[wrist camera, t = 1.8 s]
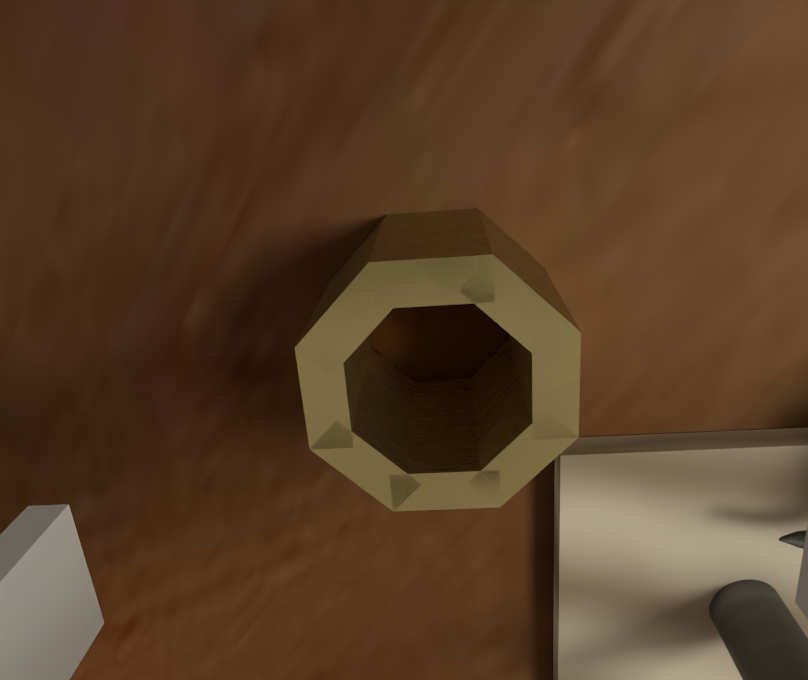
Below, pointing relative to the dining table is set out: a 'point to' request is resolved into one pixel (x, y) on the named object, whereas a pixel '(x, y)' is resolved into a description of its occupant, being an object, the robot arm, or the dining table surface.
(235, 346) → the dining table surface
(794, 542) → the dinosaur figurine
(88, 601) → the robot arm
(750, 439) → the post board
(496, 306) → the sleeve
